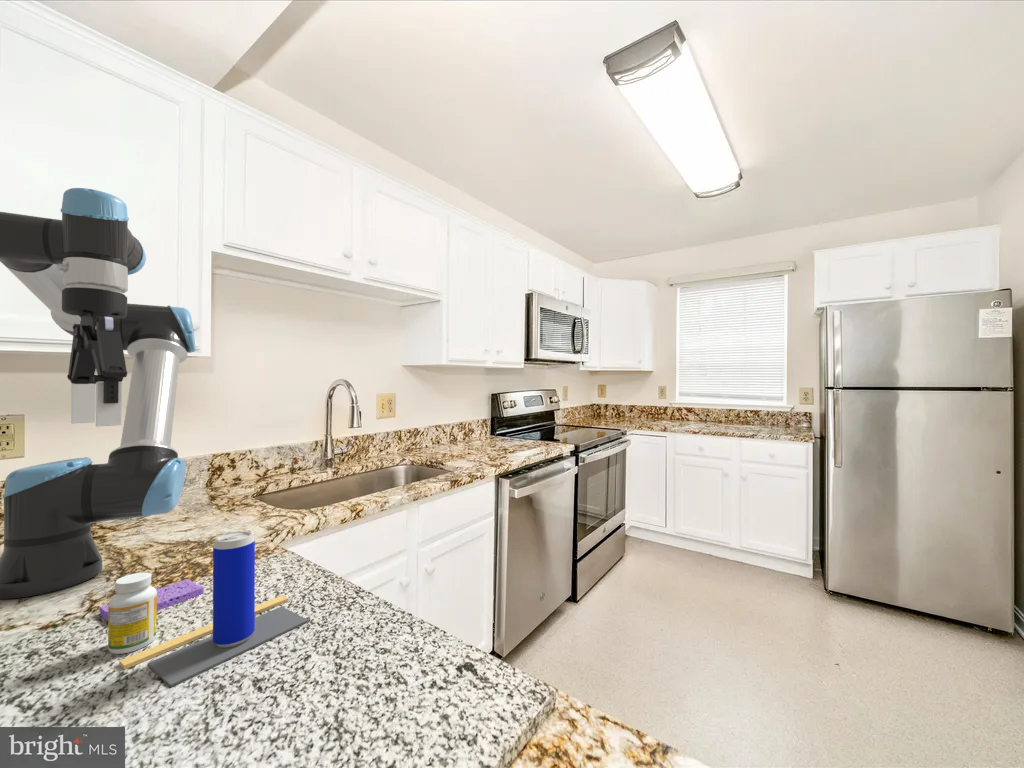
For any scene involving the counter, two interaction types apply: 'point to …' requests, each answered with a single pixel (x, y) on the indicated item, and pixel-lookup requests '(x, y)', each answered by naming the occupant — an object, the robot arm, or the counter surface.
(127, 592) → the supplement bottle
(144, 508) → the robot arm
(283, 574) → the counter surface
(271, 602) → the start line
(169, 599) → the sponges
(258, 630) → the mat
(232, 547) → the beverage can
